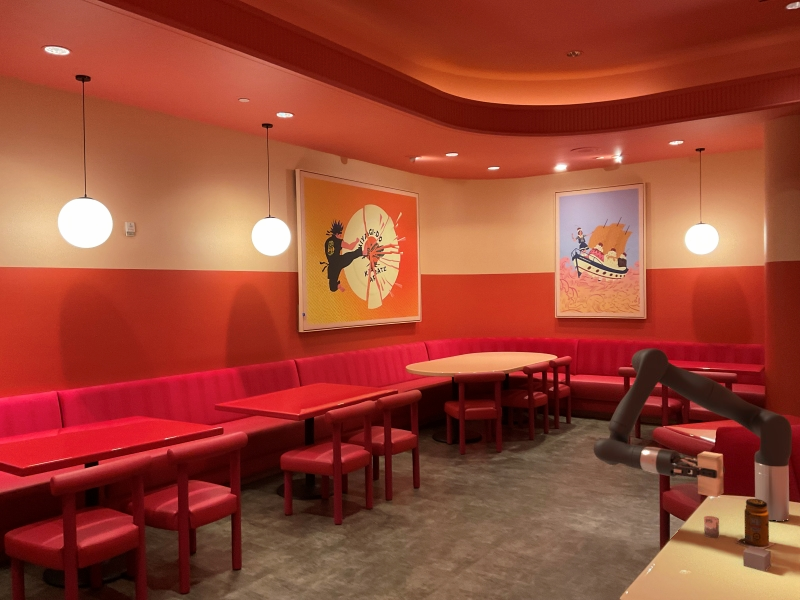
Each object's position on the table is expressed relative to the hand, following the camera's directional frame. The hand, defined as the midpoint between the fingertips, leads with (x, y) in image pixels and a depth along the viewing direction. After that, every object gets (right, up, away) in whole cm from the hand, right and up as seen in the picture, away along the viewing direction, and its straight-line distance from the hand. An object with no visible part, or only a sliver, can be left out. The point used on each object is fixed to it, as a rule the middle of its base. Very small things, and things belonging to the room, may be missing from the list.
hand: (720, 472), depth 176 cm
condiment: (+12, -22, +4) cm, 25 cm away
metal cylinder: (+3, -22, +11) cm, 24 cm away
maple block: (-2, -7, +2) cm, 7 cm away
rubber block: (+4, -22, -10) cm, 25 cm away
